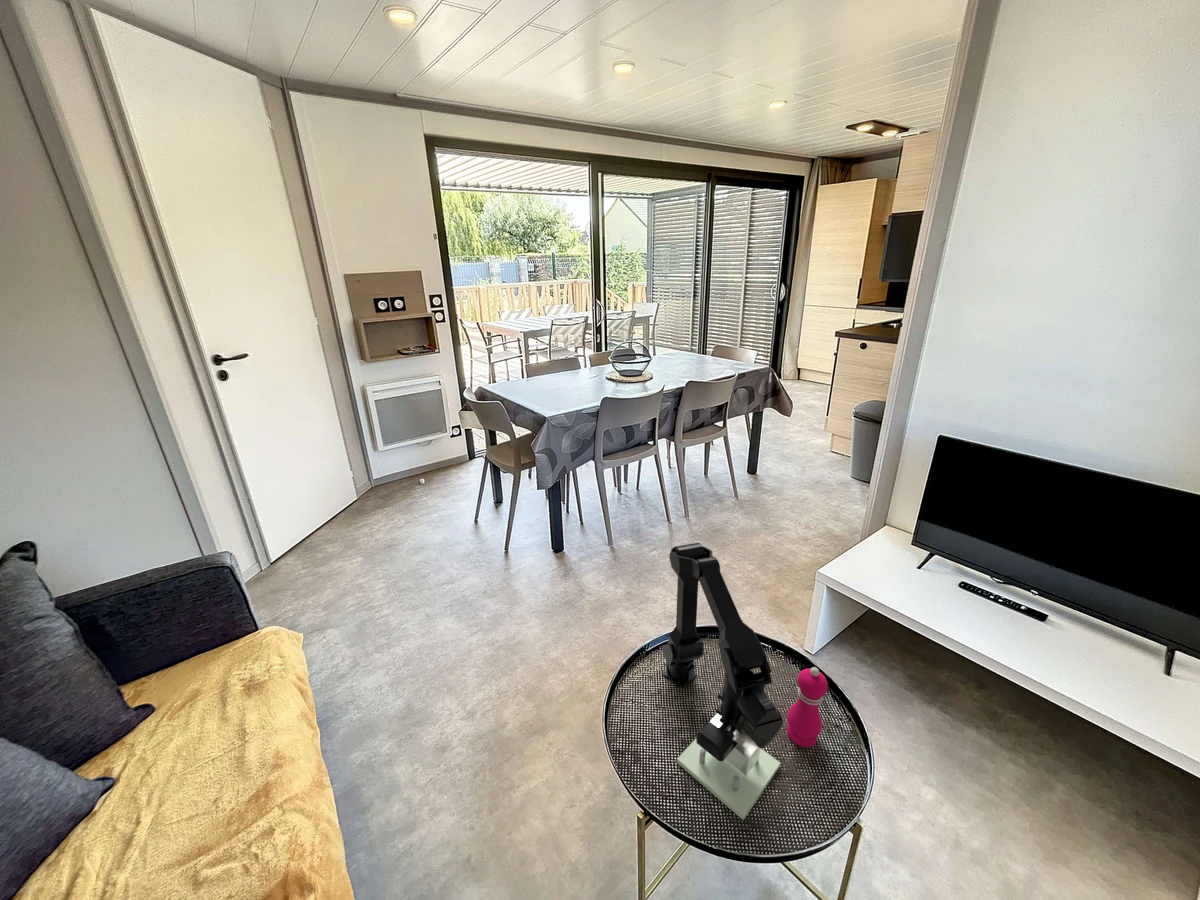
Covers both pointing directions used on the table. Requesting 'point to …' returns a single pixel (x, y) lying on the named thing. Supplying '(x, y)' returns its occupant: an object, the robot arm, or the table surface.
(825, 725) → the table surface
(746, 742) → the block
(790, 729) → the pepper mill
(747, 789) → the pale green peg board
